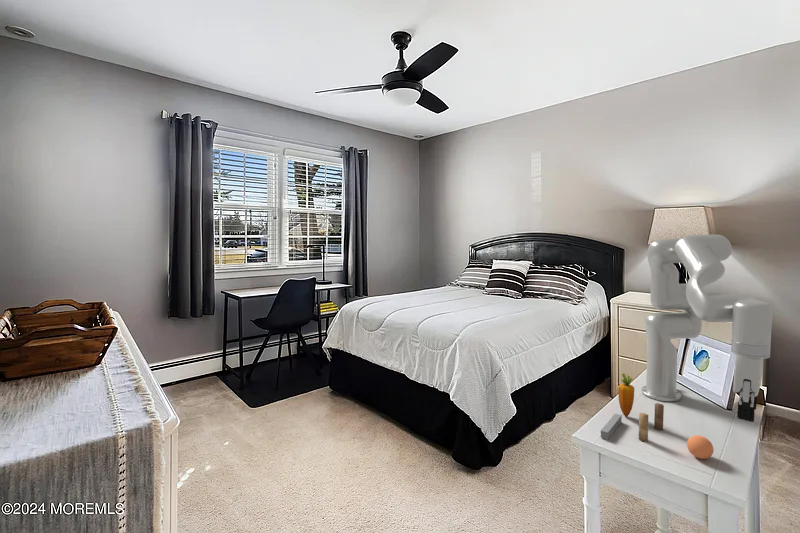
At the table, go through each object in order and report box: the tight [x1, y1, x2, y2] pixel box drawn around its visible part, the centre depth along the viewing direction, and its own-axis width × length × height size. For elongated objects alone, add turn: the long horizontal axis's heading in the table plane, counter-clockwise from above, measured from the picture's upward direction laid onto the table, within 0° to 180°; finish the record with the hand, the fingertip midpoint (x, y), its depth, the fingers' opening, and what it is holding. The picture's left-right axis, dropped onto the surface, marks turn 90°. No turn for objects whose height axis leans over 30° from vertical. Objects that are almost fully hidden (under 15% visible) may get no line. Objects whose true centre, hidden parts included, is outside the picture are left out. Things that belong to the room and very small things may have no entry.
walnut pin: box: [653, 402, 665, 432], centre depth 128 cm, size 2×2×8 cm
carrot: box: [617, 372, 635, 418], centre depth 136 cm, size 5×5×15 cm
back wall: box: [600, 413, 623, 441], centre depth 129 cm, size 14×2×2 cm, turn 135°
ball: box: [686, 434, 715, 460], centre depth 112 cm, size 6×6×6 cm
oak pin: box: [638, 412, 649, 443], centre depth 122 cm, size 2×2×8 cm
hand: (746, 413), depth 104 cm, fingers open, 7 cm apart
